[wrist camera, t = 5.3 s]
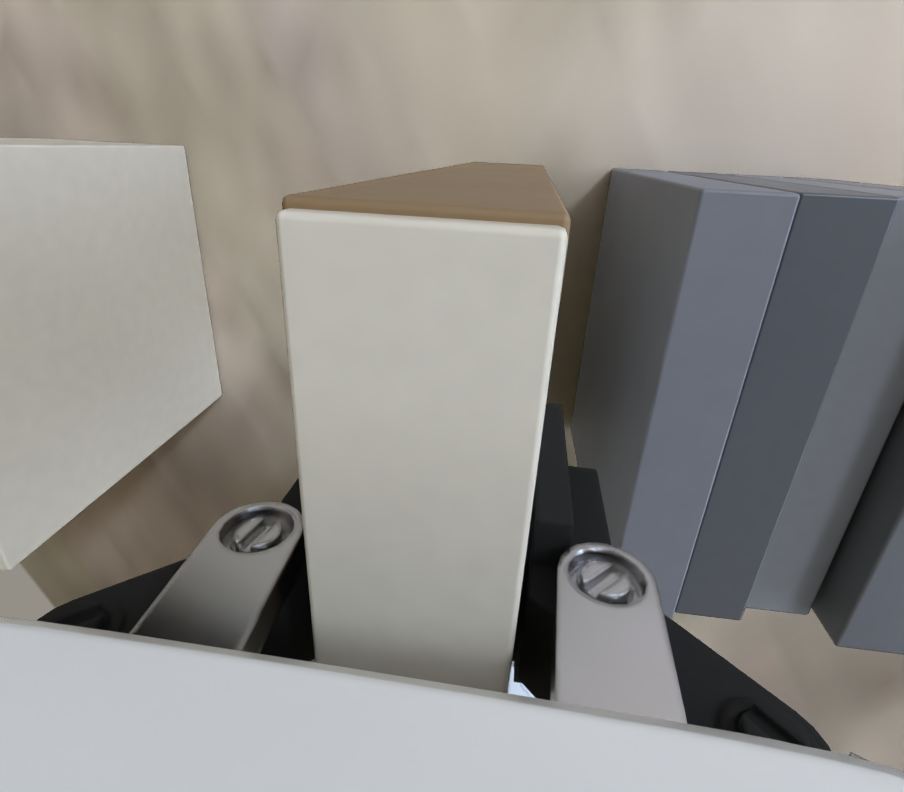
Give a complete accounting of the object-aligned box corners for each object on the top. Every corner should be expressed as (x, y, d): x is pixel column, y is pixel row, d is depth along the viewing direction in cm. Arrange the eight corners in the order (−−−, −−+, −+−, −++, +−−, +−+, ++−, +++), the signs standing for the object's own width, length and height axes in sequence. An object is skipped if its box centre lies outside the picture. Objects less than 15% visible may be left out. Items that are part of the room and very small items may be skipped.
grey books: (853, 180, 19) (1212, 215, 9) (763, 446, 24) (936, 659, 14) (611, 168, 20) (701, 188, 10) (570, 428, 25) (603, 618, 15)
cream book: (544, 165, 18) (573, 216, 4) (513, 444, 23) (478, 928, 9) (473, 161, 19) (268, 197, 4) (457, 438, 23) (334, 899, 9)
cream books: (184, 145, 21) (-163, 143, 10) (222, 395, 26) (9, 571, 15) (11, 136, 22) (-483, 126, 11) (79, 381, 27) (-224, 541, 16)
